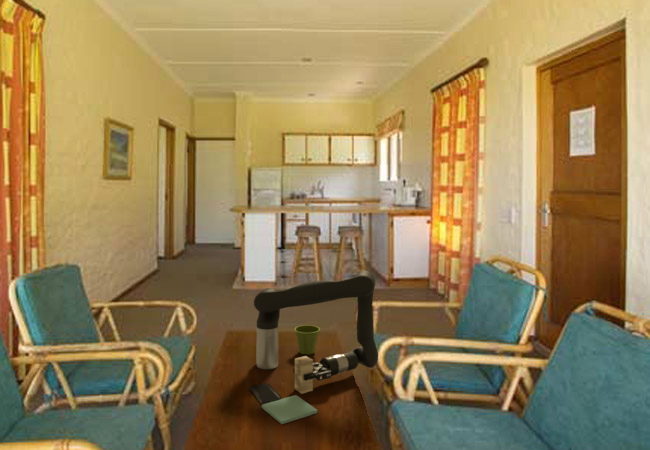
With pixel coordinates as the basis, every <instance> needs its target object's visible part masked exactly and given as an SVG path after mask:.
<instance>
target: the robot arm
mask: <svg viewBox="0 0 650 450" xmlns="http://www.w3.org/2000/svg"><path fill="white" fill-rule="evenodd" d="M375 287H376V278H375V276H374V275H373V273H371V271H368V270H361V271H359V272H358V273H356V274H355V276H354V277H350V278H347V279H343V280H315V281H309V282H304V283H301V284H298V285H295V286H292V287H289V288H288V289H284V290H276V289H275V288H272V287H268V288H264V289H262V290H261V291H260V292H258V293H257V295H256V296H255V298H254V300H253V306H254V308H255V310H257V312H258V316H257V319H256V342H255V343H256V345H255V348H256V350H255V352H256V353H255V355H256V357H255V359H256V360H255V361H256V362H255V363H256V367H257V368H259V369H262V370H273V369H276V368H277V367H278V366H279V321H280V315H281V314H280V313H281V312H280V311H281V310H283V309H285V308H292V307H293V308H294V307H302V306H303V307H304V306H309V305H315V304H323V303H327V302H333V301H336V300H339V299H340V300H341V299H347V298H348V299H350V298H351V299H352V298H357V312H356V313H357V316H356V341H357V343H358V344H359V345H361V346H357V347H355V348H353V349H351V350H350V351H348V352H345V353H337V354H333V355H329V356H325V357H322V358H321V359H320V361H319V362H313V373H308V374H304V380H305V381H306V380H310V379H313V380H316V381H323V380H326V379H328V380H329V379H331V378H332V377H334V376H337V375H340V374H344V373H345V372H349V371H352V370H355V369H356V368H358V366H359V364H360V365H362V366H363V367H366V368H370V369H371V368H373V367H375V366H376V365H377V363H378V360H379V353H378V349H377V345H376V342H375V335H374V333H375V331H374V329H375V328H374V314H373V313H374V312H373V311H374V309H373V303H374V302H373V300H374V292H375V291H374V290H375ZM292 371H293V372H292V373H293V374H294V375H295V367H294V368H293V369H292Z"/></svg>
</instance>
